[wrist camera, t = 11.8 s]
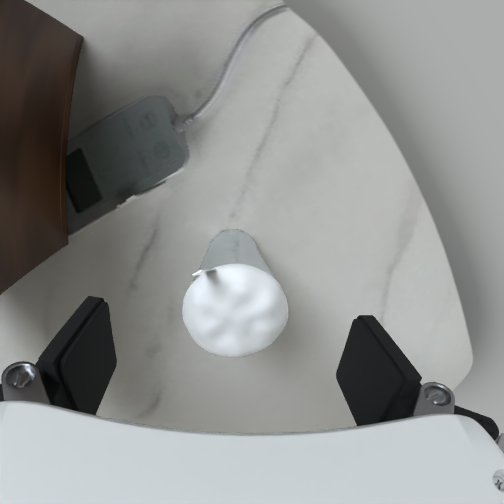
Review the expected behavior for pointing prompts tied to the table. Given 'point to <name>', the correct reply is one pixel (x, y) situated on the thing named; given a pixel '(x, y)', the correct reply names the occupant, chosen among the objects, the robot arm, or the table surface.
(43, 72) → the chest
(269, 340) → the milkshake
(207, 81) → the table surface
